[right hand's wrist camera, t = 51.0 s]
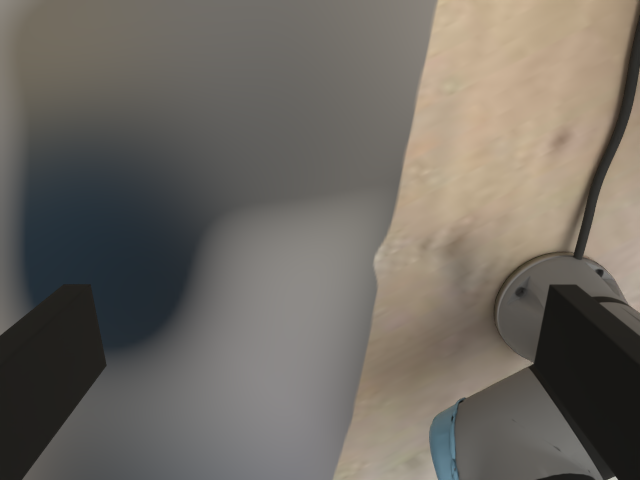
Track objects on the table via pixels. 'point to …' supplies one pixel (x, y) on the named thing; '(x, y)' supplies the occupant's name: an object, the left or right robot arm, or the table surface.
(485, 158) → the table surface
